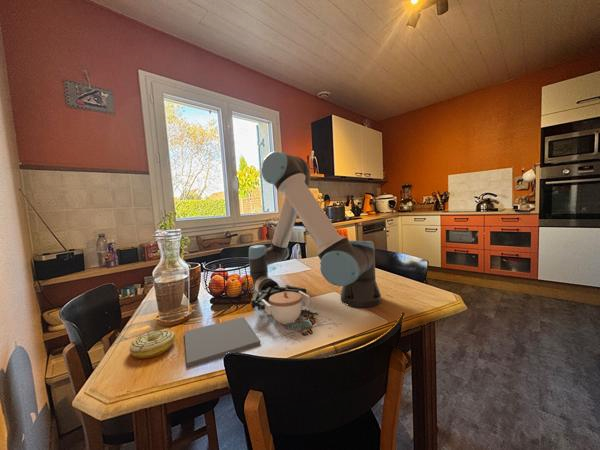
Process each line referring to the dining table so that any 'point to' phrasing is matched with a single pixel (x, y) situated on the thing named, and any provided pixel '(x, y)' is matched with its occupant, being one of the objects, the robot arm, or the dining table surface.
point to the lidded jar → (286, 306)
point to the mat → (218, 340)
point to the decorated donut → (152, 344)
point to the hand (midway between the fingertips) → (290, 305)
